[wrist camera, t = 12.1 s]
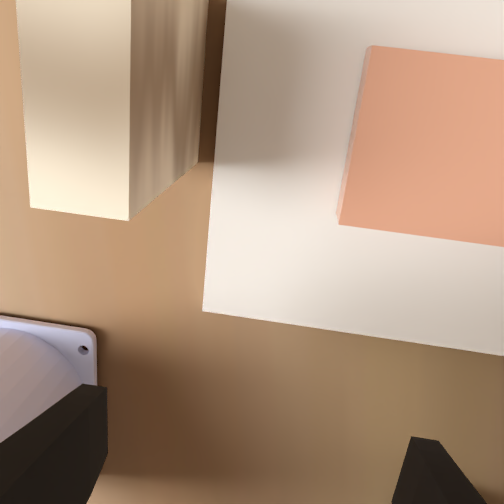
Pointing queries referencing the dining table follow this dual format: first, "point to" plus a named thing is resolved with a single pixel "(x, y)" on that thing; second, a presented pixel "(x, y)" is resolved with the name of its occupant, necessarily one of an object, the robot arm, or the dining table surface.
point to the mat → (335, 178)
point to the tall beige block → (110, 100)
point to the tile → (427, 147)
